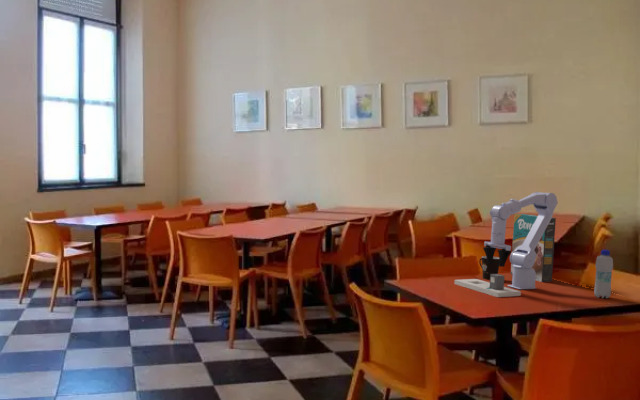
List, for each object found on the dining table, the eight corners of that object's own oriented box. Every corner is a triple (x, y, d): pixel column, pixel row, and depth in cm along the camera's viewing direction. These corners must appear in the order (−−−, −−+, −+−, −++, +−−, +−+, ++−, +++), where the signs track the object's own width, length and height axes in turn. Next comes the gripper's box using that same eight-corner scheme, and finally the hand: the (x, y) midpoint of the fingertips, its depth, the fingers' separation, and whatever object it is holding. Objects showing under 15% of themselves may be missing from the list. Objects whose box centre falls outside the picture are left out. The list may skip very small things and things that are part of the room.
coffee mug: (501, 280, 286) (502, 259, 286) (483, 279, 286) (484, 258, 286) (494, 276, 298) (496, 255, 297) (476, 275, 298) (478, 254, 297)
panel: (476, 282, 278) (476, 278, 277) (520, 295, 252) (520, 290, 252) (454, 283, 272) (454, 279, 272) (497, 297, 247) (497, 292, 247)
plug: (496, 291, 259) (497, 273, 259) (503, 293, 255) (504, 275, 255) (488, 292, 257) (489, 274, 257) (494, 294, 254) (495, 276, 253)
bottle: (609, 296, 259) (613, 249, 258) (611, 299, 252) (615, 251, 251) (592, 294, 261) (595, 248, 260) (594, 297, 255) (597, 249, 253)
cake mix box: (510, 273, 308) (514, 213, 306) (520, 273, 310) (524, 214, 309) (541, 281, 288) (545, 218, 286) (551, 281, 290) (555, 218, 288)
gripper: (479, 231, 268) (477, 262, 268) (502, 235, 255) (500, 267, 255) (492, 231, 271) (490, 262, 271) (515, 235, 258) (513, 267, 258)
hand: (495, 265), depth 264 cm, fingers open, 7 cm apart
